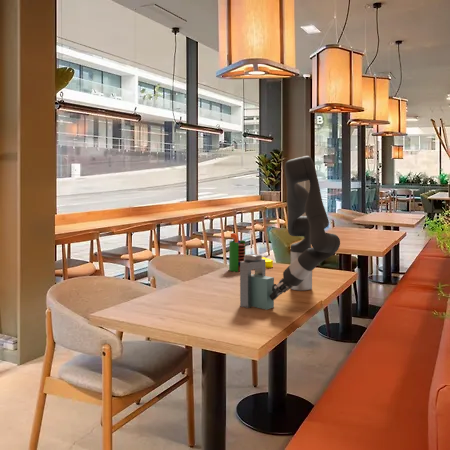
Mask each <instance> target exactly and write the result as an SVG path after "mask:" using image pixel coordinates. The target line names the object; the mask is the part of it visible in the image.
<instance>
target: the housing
mask: <svg viewBox="0 0 450 450" xmlns="http://www.w3.org/2000/svg"><path fill="white" fill-rule="evenodd" d="M262 257H263V256H262V254H258V253H257V254H255V253H250V254H248V253H247V254H245V255H244V261H242V262H240V271H239V282H240V283H239V287H240V288H239V289H240V290H239V293H240V294H239V296H240V297H239V302H240V303H239V304H240V308H246V309H249V308H252V306H251V274H252V271H253V270H254V274H256V275H262V276H266V268H265V259H262Z"/></svg>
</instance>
